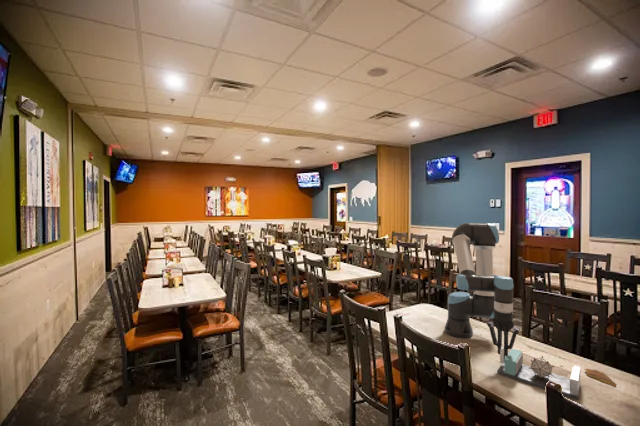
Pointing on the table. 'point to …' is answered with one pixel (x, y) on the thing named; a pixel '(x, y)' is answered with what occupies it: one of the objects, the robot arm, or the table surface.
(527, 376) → the vise bed
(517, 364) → the block
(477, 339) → the table surface
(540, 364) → the game die
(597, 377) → the shard
